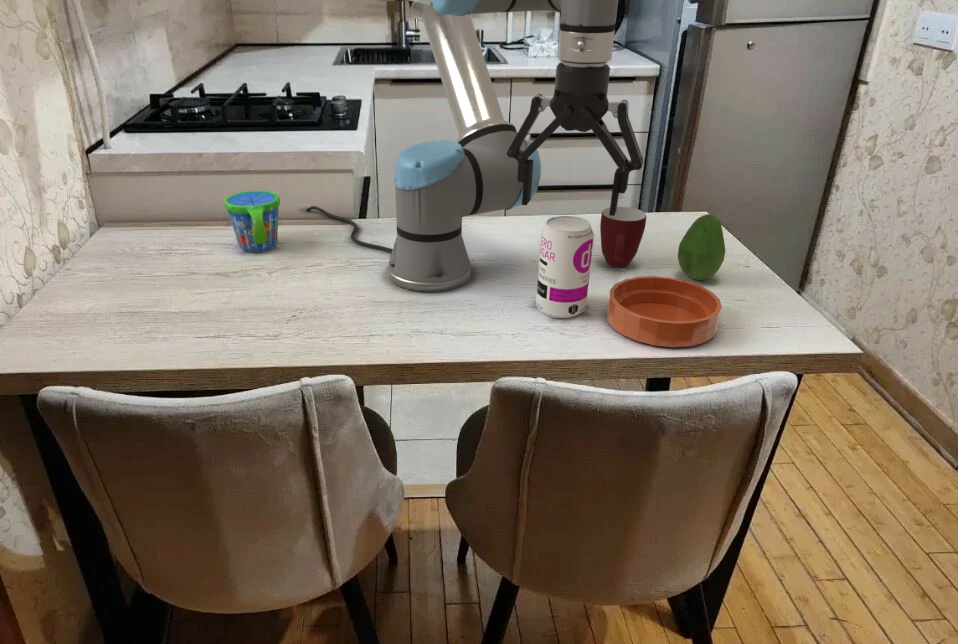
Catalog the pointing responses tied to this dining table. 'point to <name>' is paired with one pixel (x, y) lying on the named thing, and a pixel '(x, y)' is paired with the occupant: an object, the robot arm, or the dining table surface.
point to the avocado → (702, 248)
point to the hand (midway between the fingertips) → (568, 207)
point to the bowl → (663, 311)
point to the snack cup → (254, 219)
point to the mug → (621, 235)
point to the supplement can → (564, 266)
